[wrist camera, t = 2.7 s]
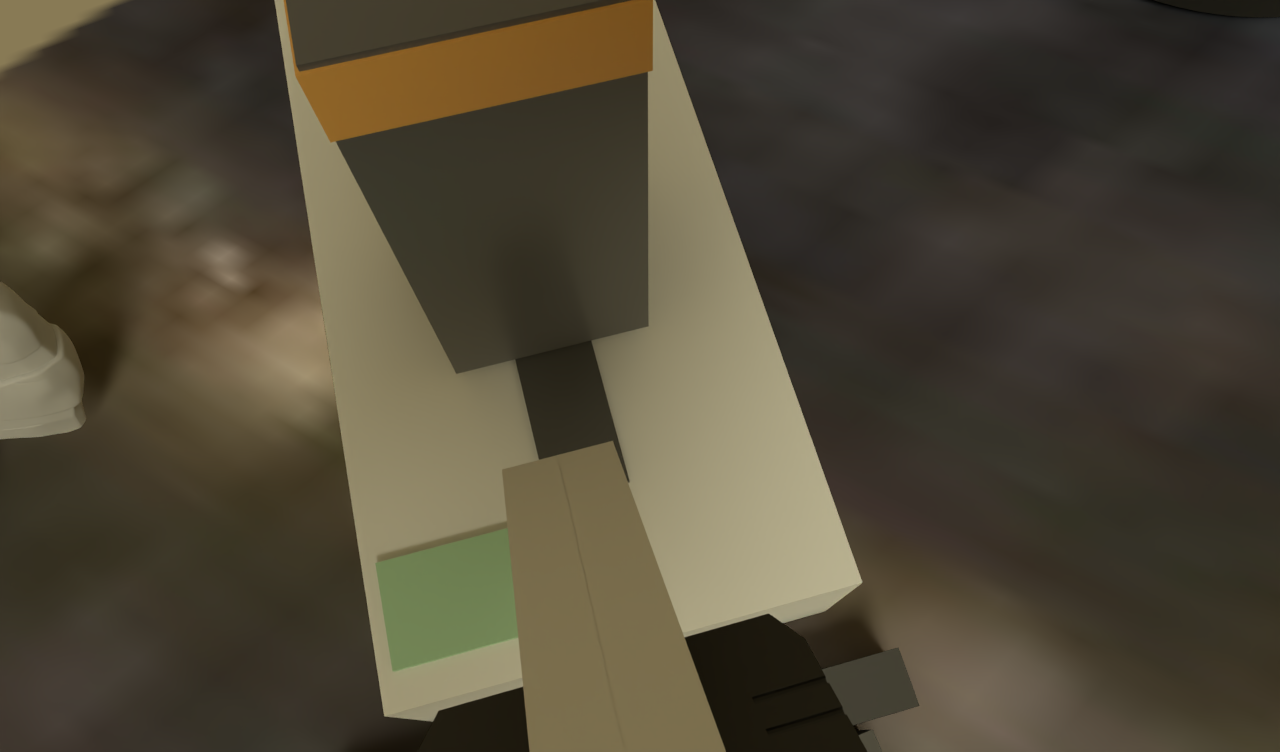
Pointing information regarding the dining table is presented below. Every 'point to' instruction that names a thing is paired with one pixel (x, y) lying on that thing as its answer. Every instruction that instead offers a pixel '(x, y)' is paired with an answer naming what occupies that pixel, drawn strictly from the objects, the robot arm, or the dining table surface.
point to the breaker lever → (495, 157)
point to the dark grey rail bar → (872, 686)
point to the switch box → (566, 426)
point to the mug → (36, 373)
